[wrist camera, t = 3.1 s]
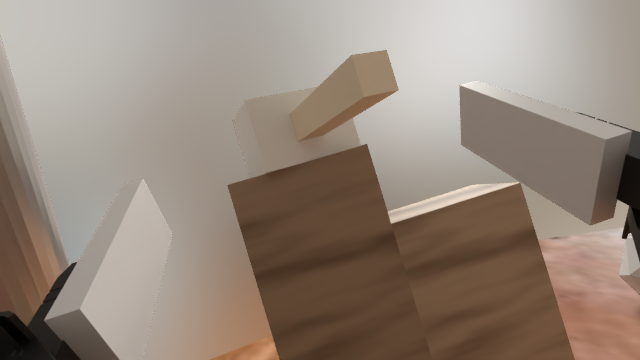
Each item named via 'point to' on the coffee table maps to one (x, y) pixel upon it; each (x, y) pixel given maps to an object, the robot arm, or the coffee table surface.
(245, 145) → the mallet
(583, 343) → the coffee table surface
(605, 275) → the coffee table surface
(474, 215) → the stand
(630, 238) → the die
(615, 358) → the coffee table surface
